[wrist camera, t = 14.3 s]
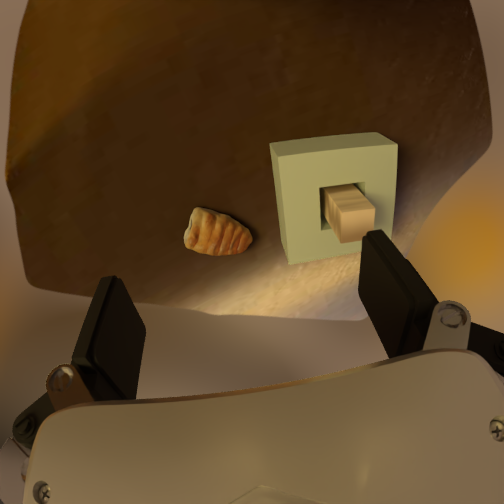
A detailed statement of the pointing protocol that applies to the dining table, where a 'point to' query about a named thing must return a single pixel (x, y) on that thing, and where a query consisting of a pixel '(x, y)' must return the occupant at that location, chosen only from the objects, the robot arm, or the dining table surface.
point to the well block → (330, 174)
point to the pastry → (215, 233)
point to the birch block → (347, 212)
